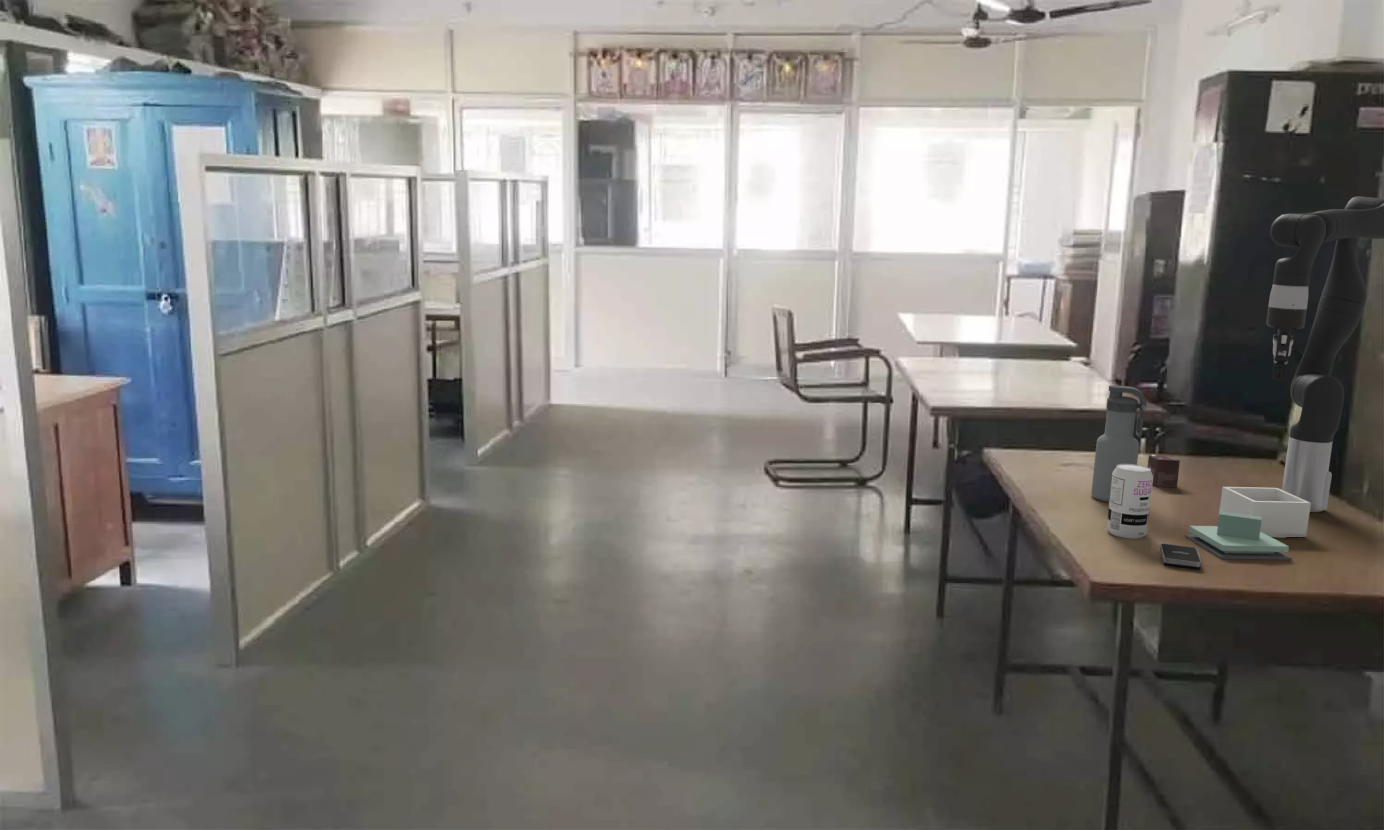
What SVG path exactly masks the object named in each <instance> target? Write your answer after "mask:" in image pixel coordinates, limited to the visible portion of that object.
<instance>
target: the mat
mask: <svg viewBox="0 0 1384 830" xmlns="http://www.w3.org/2000/svg"><path fill="white" fill-rule="evenodd" d="M1184 538H1186V539H1187V540H1189V541H1191V542H1193V543H1194V544H1196V545H1197V546H1199V547H1201V548H1202V549H1204V550H1206V551H1207V552H1208V553H1211V554H1212V555H1214V556H1215V557H1217V558H1218V559H1220V560H1267V561H1268V560H1269V561H1270V560H1274V561H1278V560H1279V561H1280V560H1281V561H1282V560H1283V561H1291V560H1292V559H1293V558H1292V557H1291V556H1290V555H1288V554H1286V553H1285V552H1275V554H1244V553H1224V552H1223V551H1221V550H1219V549H1218V548H1216V547H1214V546H1212V545H1211V544H1209V543H1207V542H1206V541H1204V540H1202V539H1201V538H1200V537H1198V536H1196V535H1194V534H1185V535H1184Z"/></svg>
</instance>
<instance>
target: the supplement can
mask: <svg viewBox="0 0 1384 830" xmlns="http://www.w3.org/2000/svg"><path fill="white" fill-rule="evenodd" d="M1152 483H1153V475H1152V473H1151V469H1150V468H1148V466H1144V465H1140V464H1137V465H1134V464H1119V465H1117V466H1116V468H1115V470H1114V471H1113V473H1112V483H1111V492H1110V501H1109V502H1108V513H1107V520H1106V530H1107V531H1108V532H1109V534H1111V535H1113V536H1114V537H1115V536H1116V537H1119V538H1123V539H1134V540H1135V539H1136V540H1137V539H1141V538H1143V537H1144V536H1146V535H1147V533H1148V524H1149V516H1150V508H1151V499H1152V492H1153V491H1152V489H1153V485H1152Z"/></svg>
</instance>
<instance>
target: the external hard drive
mask: <svg viewBox="0 0 1384 830" xmlns="http://www.w3.org/2000/svg"><path fill="white" fill-rule="evenodd" d="M1159 553H1160V556H1161V557H1160V558H1161V561H1162V565H1163V566H1164V567H1169V568H1178V569H1186V570H1194V571H1200V570H1201V567H1202V559H1201V556H1200V554H1199V551H1198V548H1197V547H1195V546H1188V545H1181V544H1179V545H1177V544H1172V543H1162V542H1161V543H1160V544H1159Z"/></svg>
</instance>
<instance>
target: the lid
mask: <svg viewBox="0 0 1384 830" xmlns="http://www.w3.org/2000/svg"><path fill="white" fill-rule="evenodd" d="M1218 518H1219V520H1218V521H1217V526H1216V525H1189V526H1188V532H1190V533H1191V534H1192V535H1196V536H1198V537H1200V538H1201V539H1202V540H1204V541H1206V542H1207V543H1209V544H1211V545H1212V546H1214V547H1216V548H1218V549H1219V550H1221V551H1223V552H1224V553H1244V554H1275V552H1282V553H1289V549H1290V546H1289V545H1286V544H1285V543H1284V542H1281V541H1279V540H1277V539H1275V537H1270V536H1268V535H1266V534H1264V533H1262V532H1260V529H1261V521H1262V517H1260V516H1253V515H1246V514H1239V513H1231V512H1224V511H1220V513H1219V512H1218Z"/></svg>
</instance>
